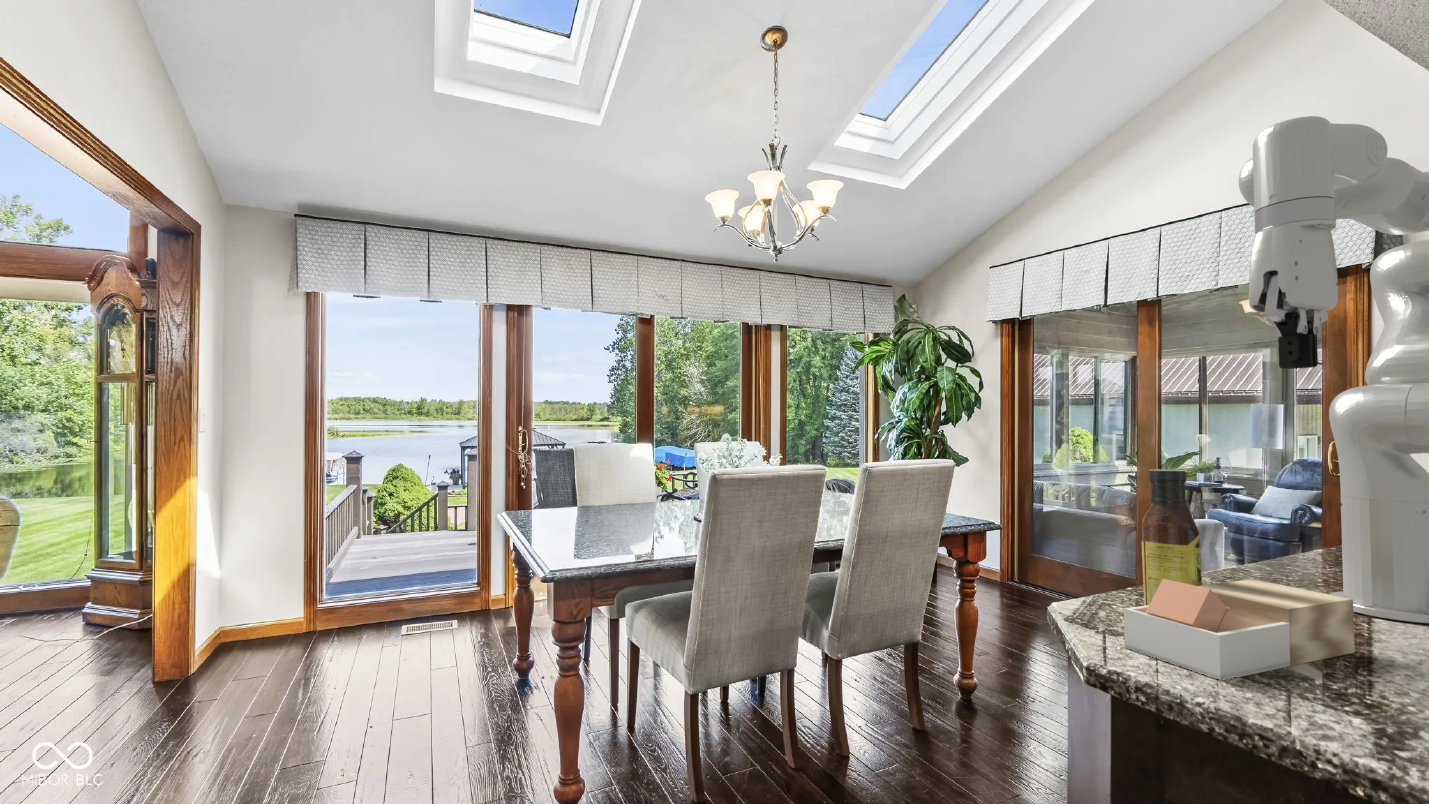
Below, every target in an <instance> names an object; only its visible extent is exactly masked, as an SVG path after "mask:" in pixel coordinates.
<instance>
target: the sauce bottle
mask: <svg viewBox="0 0 1429 804" xmlns="http://www.w3.org/2000/svg"><path fill="white" fill-rule="evenodd" d="M1186 472H1187V471H1186V470H1184V469H1161V468H1160V469H1148V480H1149V482H1150V499H1149V500H1150V503H1151V504H1150V506H1149V508H1148V509H1147V511H1146V512H1145V514H1144V515H1143V517H1142V520H1141V533H1142V534H1141V536H1142V540H1141V558H1142V560H1141V561H1142V580H1143V581H1142V583H1143V603H1144V605H1143V606H1146V605H1149V604H1150V602H1151V600H1152V598H1153V597H1154V595H1155V593H1156V591H1157V589H1158V587H1159V585H1160V583H1161V581H1162V579H1167V580H1171V581H1176V582H1181V583H1185V584H1190V585H1195V586H1202V585H1203V584H1202V583H1203V578H1202V577H1203V576H1202V575H1203V574H1202V558H1201V540H1200V538H1201V537H1200V532H1199V529H1198V527H1197V524H1196V522H1195V519H1194V517H1193V515H1192V513H1191V510H1190V507H1189V506H1188V503H1187V499H1186V484H1185V483H1186V482H1187V474H1186Z"/></svg>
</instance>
